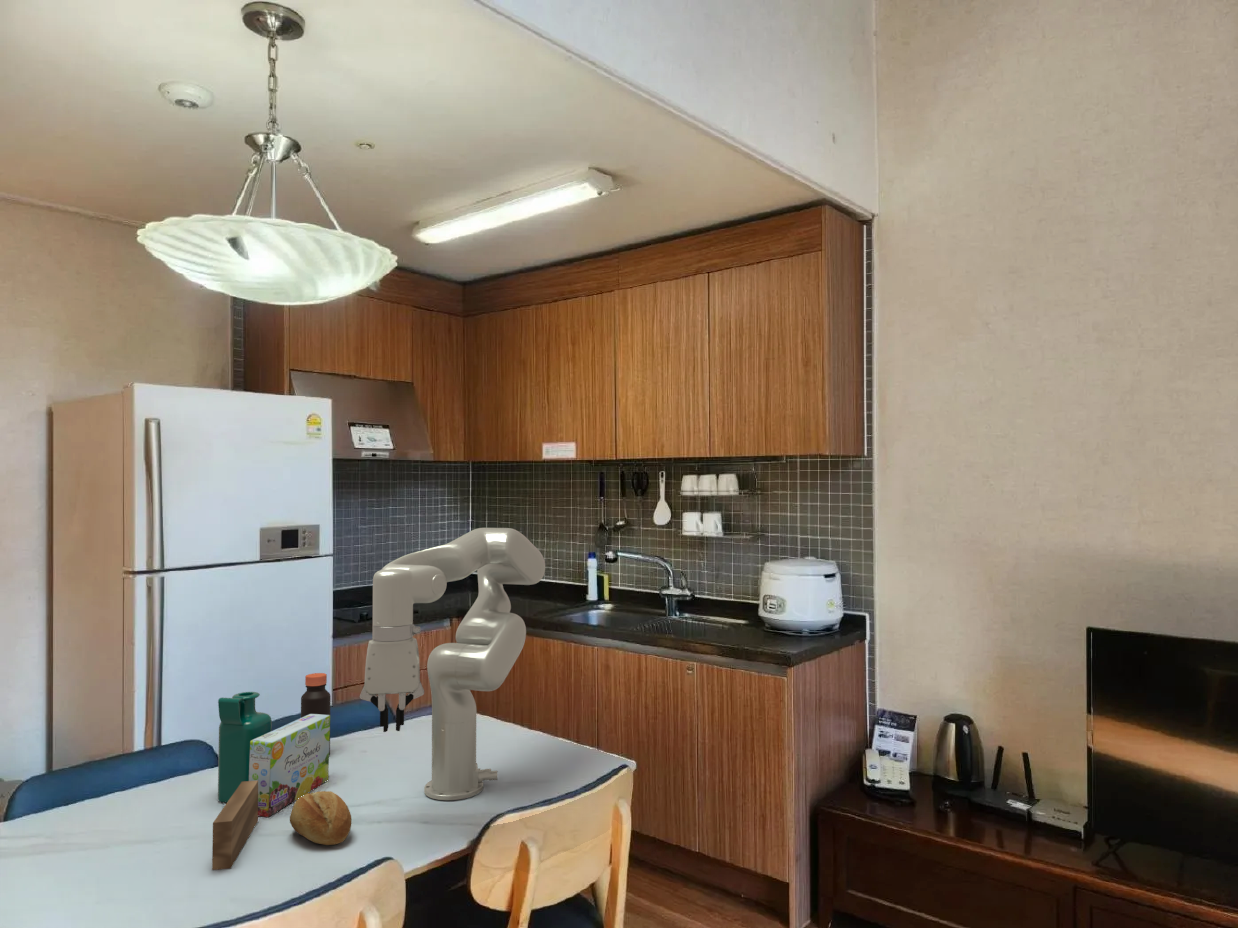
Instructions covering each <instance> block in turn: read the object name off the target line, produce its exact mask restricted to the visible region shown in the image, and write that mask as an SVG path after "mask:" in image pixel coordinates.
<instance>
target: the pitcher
mask: <svg viewBox="0 0 1238 928" xmlns="http://www.w3.org/2000/svg"><path fill="white" fill-rule="evenodd" d="M260 696H261V695H260V692H257V691H245V692H244V691H242V692H239V693H235V694H234V695H232V697H220V698H218V700H217V703H218V705H217V706H218V716H219V720H220V723H219V725H218V762H217V763H218V765H217V767H218V768H217V770H218V772H217V800H218V801H219V803H227V802H228V801H229V799H230V798H231V796H232V795H233V794H234V792H235V791H236V789H237V788H238V786H239V785H240V784H241V782H244V781H249V762H250V741H251V740H253V739H256V738H258V737H260V736H262V735H264V734H267V733H269V732H271V731H273V730H272V725H273V724H272V723H273V722H272V718H271V716H270V714H269V713H266V712H260V711H257V710H256V699H257V698H259V697H260Z"/></svg>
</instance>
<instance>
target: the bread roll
mask: <svg viewBox="0 0 1238 928" xmlns="http://www.w3.org/2000/svg"><path fill="white" fill-rule="evenodd" d="M289 823H290V825H291V828H293V830H294V831H295V832H296V833H297V834H299V835H300V836H302V837H303V838H305V839H307V840H308V841H311V842H312V843H315V844H318V845H324V846H333V845H338V844H342V843H343V842H344V841H345V840H346V839H347V837H348V835H349V833H350V831H351V828H352V813H351V811H350V809H349V807H348V805H347V803H346V802H345V801H344V800H343V798H341V796H340V795H338V794H337V793H335V792H333V791H330V790H328V791H327V790H326V791H323V790H321V791H316V792H309V793H307V794H305V795H304V796H302V797H300V798H299V799H297V800H296V801H294V803H293V806H292V809H291V812H290V815H289Z"/></svg>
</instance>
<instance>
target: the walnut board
mask: <svg viewBox="0 0 1238 928" xmlns="http://www.w3.org/2000/svg"><path fill="white" fill-rule="evenodd" d="M258 817H259V816H258V780H257V781H244V782H241V784H240V785H239V786H238V788H237V789H236V791H235V792H234V794H233V795H232V796H231V798H230V799H229V801H228V802H227V803H226V804H225V805H224V806H223V808H222V809H221V810H220V812H219V813H218V815H217V816H216V818H215V819H214V821H213V822H212V852H211V854H212V855H211V856H212V859H211V862H212V863H211V871H217V870H226V869H229V870H230V869H232V868H233V865H234V864H235V862H236V860H237V858H238V857H239V855H240V853H241V852H242V850H243V848H244V846H245V845H246V843H247V841H248V839H249V838H250V836H251V834H252V832H253V831H254V829H255V827H256V825H257V824H258V822H257V821H258V819H259V818H258ZM256 823H257V824H256ZM254 826H255V827H254ZM253 828H254V829H253Z"/></svg>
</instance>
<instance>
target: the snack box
mask: <svg viewBox="0 0 1238 928" xmlns="http://www.w3.org/2000/svg"><path fill="white" fill-rule="evenodd" d="M329 738H330V739H331V714H330V715H322V714H309V715H307V716H304V717H302V718H301V717H300V718H297V719H295V720H293V721H291V722H288V723H286V724H285V725H282V726H281V727H278V728H276V729H273V730H272V731H271V732H269V733H267V734H264V735H262V736H260V737H258V738H256V739H253V740H251V741H250V762H249V781H257V780H258V817H261V816H262V818H270V817H271V816H273V815H275V814H276V813H278V812H279V811H281V810H283V809H285V808H286V807H288V806H289V805H291V804H292V802H293V803H295V802H296V801H297V799H298V798H300V797H301V796H303V795H305V794H307V793H308V792H309V793H311V792H312V791H314V790H315V789H314V788H316V789H317V788H319V787H321V786H322V785H323V784H322V783H324V782H325V781H327V780H328V781H329V770H330V769H329V766H330V762H329V761H330V760H329V759H330V755H329ZM328 781H327V782H328ZM321 784H322V785H321ZM324 784H325V783H324ZM320 785H321V786H320ZM318 786H319V787H318ZM313 789H314V790H313ZM311 790H312V791H311ZM310 791H311V792H310ZM295 800H296V801H295ZM290 803H291V804H290ZM288 804H289V805H288ZM287 805H288V806H287ZM285 806H286V807H285ZM277 811H278V812H277Z"/></svg>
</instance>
